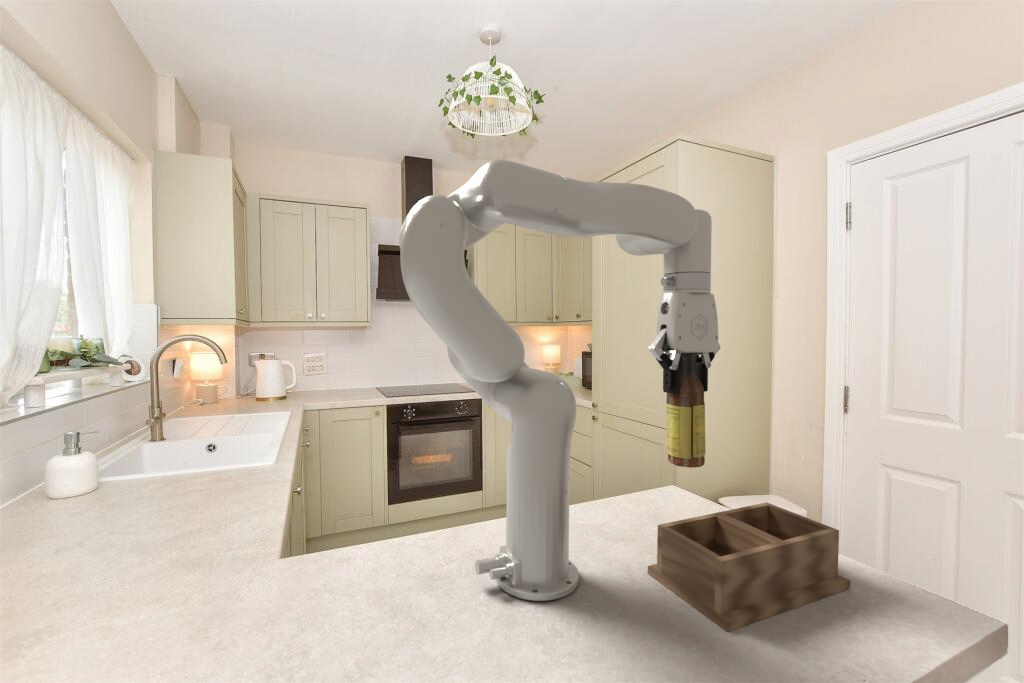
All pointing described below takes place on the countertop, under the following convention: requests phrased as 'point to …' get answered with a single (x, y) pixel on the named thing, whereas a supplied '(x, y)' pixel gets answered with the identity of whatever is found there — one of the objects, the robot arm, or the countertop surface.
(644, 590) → the countertop surface
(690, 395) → the sauce bottle
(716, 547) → the caddy
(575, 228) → the robot arm
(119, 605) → the countertop surface
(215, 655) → the countertop surface
